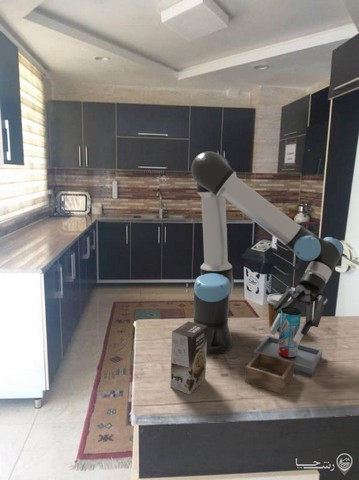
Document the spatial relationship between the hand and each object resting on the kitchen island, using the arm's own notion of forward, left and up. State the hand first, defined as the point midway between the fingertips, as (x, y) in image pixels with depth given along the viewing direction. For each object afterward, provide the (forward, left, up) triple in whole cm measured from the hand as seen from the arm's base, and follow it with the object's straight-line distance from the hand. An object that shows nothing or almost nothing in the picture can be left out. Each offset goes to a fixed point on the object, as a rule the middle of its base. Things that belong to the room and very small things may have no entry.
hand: (283, 337), depth 109 cm
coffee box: (-18, -27, -8) cm, 33 cm away
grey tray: (+1, +3, -8) cm, 9 cm away
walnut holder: (0, -12, -8) cm, 14 cm away
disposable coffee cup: (-9, +25, -8) cm, 28 cm away
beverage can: (+1, +3, -7) cm, 8 cm away
